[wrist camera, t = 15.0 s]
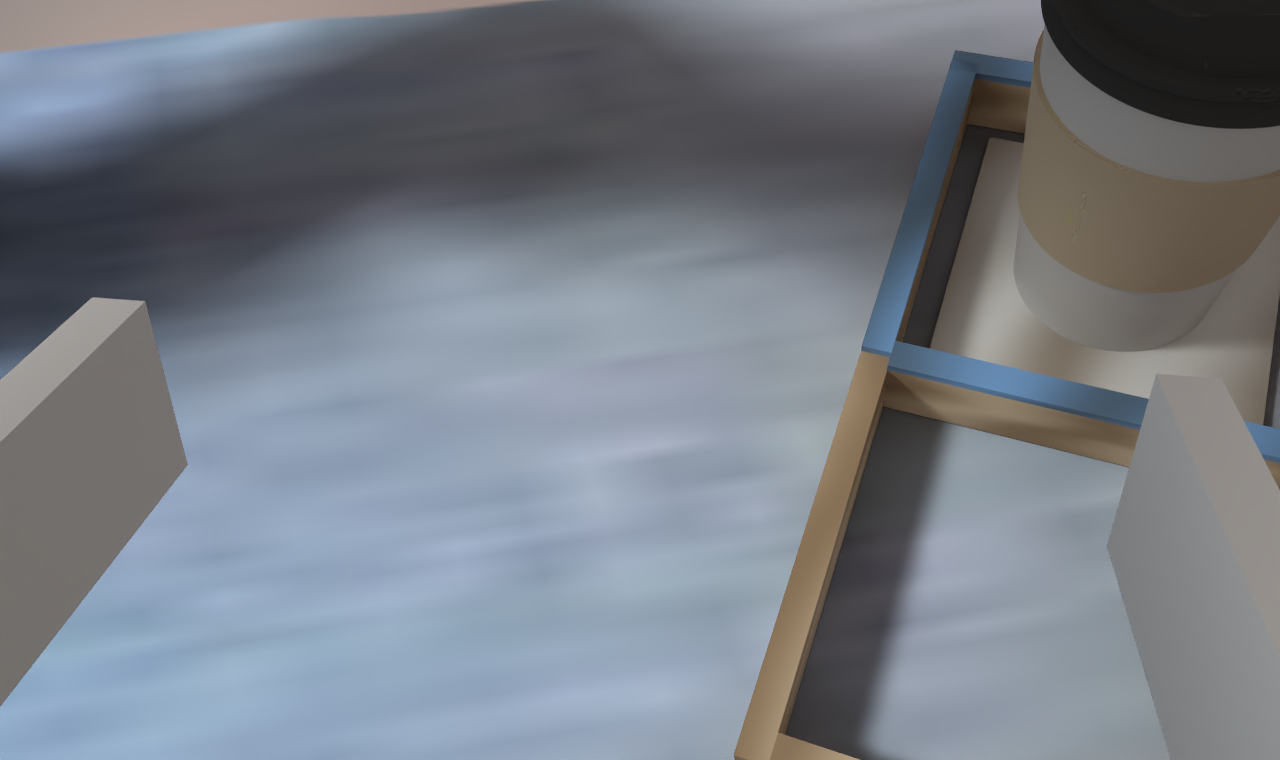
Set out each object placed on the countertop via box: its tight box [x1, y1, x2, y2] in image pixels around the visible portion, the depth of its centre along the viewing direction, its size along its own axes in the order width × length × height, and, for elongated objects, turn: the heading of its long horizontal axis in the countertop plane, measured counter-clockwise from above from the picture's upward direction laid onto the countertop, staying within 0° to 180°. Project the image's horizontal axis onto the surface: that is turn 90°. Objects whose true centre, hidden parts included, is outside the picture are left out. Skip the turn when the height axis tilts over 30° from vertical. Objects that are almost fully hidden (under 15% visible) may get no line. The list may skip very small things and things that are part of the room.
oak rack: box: [734, 50, 1280, 760], centre depth 38 cm, size 15×28×3 cm, turn 160°
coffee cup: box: [1014, 0, 1280, 352], centre depth 36 cm, size 9×9×15 cm
